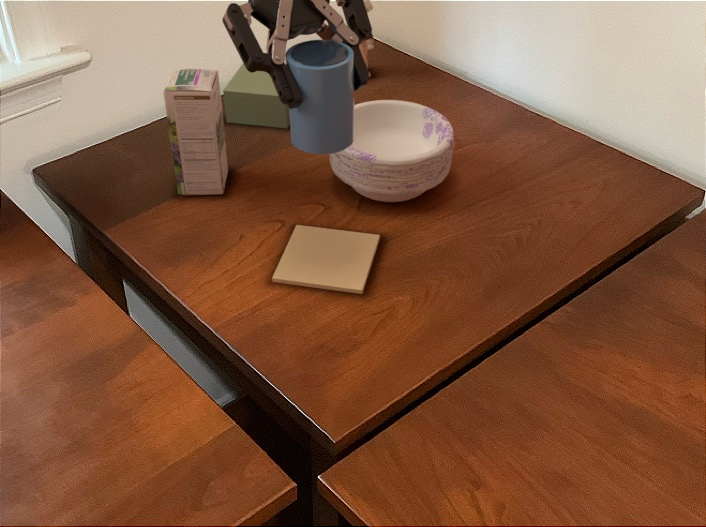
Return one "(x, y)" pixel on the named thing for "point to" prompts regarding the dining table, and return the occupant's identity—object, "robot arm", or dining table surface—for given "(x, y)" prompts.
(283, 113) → the shelf
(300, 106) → the cup
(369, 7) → the grandmother figurine
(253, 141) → the dining table surface
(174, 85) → the syrup box
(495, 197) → the dining table surface
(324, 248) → the mat
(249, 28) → the robot arm
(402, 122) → the paper bowls
